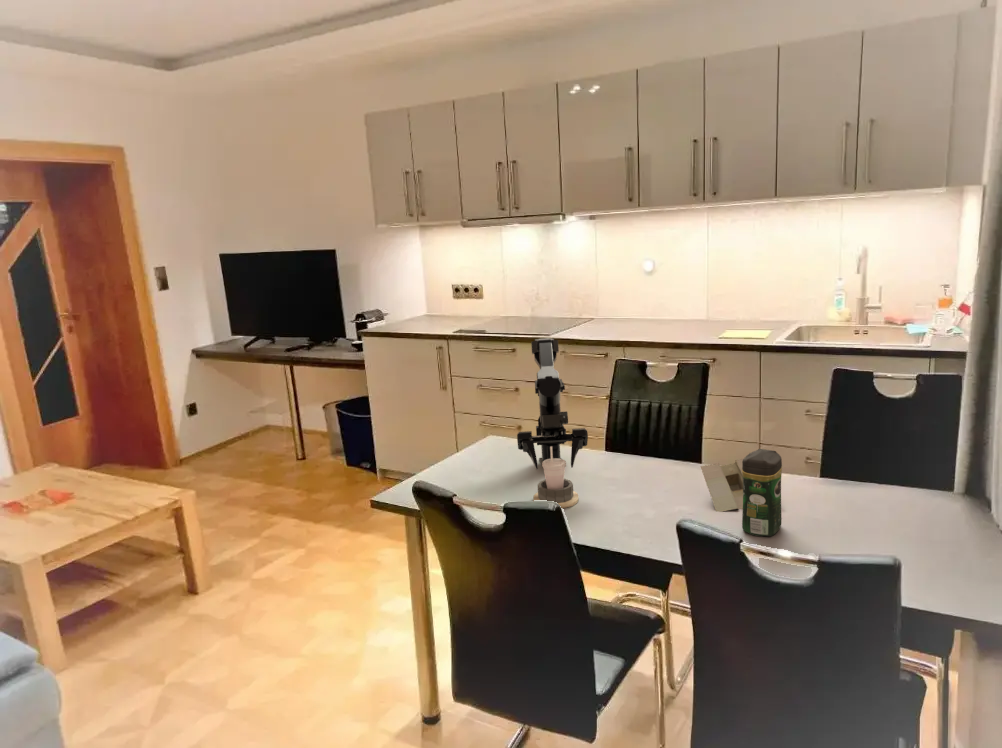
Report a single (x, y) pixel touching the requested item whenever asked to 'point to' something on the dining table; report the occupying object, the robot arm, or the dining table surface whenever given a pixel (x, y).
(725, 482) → the open cardboard box
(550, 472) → the smoothie
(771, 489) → the coffee jar
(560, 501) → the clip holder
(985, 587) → the dining table surface
